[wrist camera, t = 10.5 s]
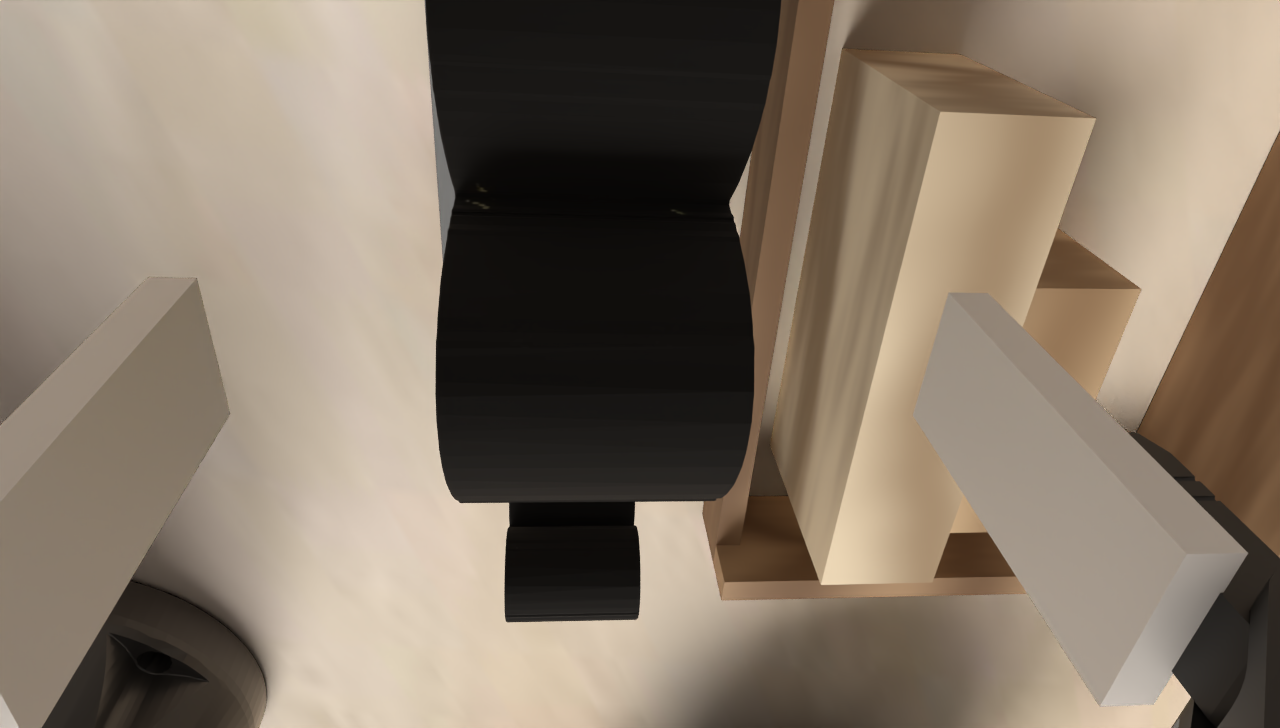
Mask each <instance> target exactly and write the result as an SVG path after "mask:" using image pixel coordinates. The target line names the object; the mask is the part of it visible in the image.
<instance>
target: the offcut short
mask: <svg viewBox="0 0 1280 728" xmlns="http://www.w3.org/2000/svg"><path fill="white" fill-rule="evenodd" d="M1140 291H1141V289H1140V288H1139V287H1138V286H1136V285H1135V284H1134V283H1132V282H1131V281H1130V280H1128V279H1127V278H1125V277H1124V276H1123V275H1121V274H1120V273H1119V272H1117V271H1116V270H1114V269H1113V268H1112V267H1110V266H1109V265H1108V264H1106V263H1105V262H1103V261H1102V260H1101V259H1099V258H1098V257H1097V256H1095V255H1094V254H1092V253H1091V252H1090V251H1088V250H1087V249H1086V248H1084V247H1083V246H1082V245H1080V244H1079V243H1077V242H1076V241H1075V240H1073V239H1072V238H1071V237H1069V236H1068V235H1066V234H1065V233H1064V232H1062V231H1061V230H1060V229H1058V228H1057V231H1056V234H1055V237H1054V240H1053V242H1052V245H1051V248H1050V251H1049V254H1048V257H1047V259H1046V262H1045V265H1044V268H1043V271H1042V274H1041V276H1040V279H1039V282H1038V285H1037V288H1036V291H1035V293H1034V296H1033V299H1032V302H1031V305H1030V308H1029V310H1028V313H1027V316H1026V319H1025V322H1024V325H1023V327H1022V328H1023V329H1024V330H1025V331H1026V332H1027V333H1028V334H1029V335H1030V336H1031V337H1032V338H1033V339H1034V340H1035V341H1036V342H1037V343H1038V344H1039V345H1040V346H1041V347H1042V348H1043V349H1044V350H1045V351H1046V352H1047V353H1048V354H1049V355H1050V356H1051V357H1052V358H1053V359H1054V360H1055V361H1056V362H1057V363H1058V364H1059V365H1060V366H1061V367H1062V368H1063V369H1064V370H1065V371H1066V372H1067V373H1068V374H1069V375H1070V376H1071V377H1072V378H1073V379H1074V380H1076V381H1077V382H1078V383H1079V384H1080V385H1081V386H1082V387H1083V388H1084V389H1085V390H1086V391H1087V392H1088V393H1089V394H1090V395H1091V396H1092V397H1093V398H1094V399H1095V400H1096V397H1097V395H1098V392H1099V390H1100V388H1101V385H1102V383H1103V380H1104V378H1105V376H1106V373H1107V371H1108V368H1109V366H1110V364H1111V361H1112V359H1113V356H1114V354H1115V352H1116V349H1117V347H1118V344H1119V342H1120V340H1121V337H1122V335H1123V332H1124V330H1125V328H1126V325H1127V323H1128V320H1129V318H1130V316H1131V313H1132V311H1133V308H1134V306H1135V303H1136V301H1137V299H1138V296H1139V294H1140ZM974 532H987V530H986V529H985V527H984V526H983V524H982V522H981V521H980V519H979V518H978V516H977V515H976V513H975V512H974V510H973V508H972V507H971V505H970V504H969V502H968V501H967V499H966V497H965V496H964V494H963V497H962V500H961V503H960V506H959V509H958V511H957V514H956V517H955V520H954V523H953V526H952V528H951V531H950V533H974Z"/></svg>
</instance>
